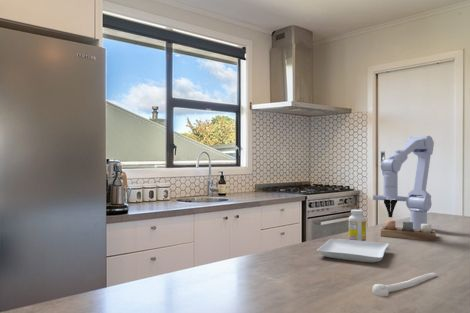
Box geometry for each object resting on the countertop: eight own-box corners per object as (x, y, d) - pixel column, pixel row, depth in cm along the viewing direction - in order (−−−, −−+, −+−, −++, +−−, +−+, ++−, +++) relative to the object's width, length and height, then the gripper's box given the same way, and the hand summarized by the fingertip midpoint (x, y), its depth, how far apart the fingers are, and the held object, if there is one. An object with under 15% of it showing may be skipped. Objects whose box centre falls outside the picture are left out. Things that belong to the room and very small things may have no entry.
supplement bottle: (363, 240, 155) (363, 209, 155) (367, 244, 149) (367, 211, 149) (347, 240, 156) (347, 208, 156) (350, 243, 149) (350, 211, 149)
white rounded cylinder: (420, 231, 163) (420, 223, 163) (431, 232, 162) (431, 224, 162) (420, 233, 160) (420, 224, 160) (431, 234, 158) (431, 225, 158)
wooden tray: (383, 231, 173) (383, 226, 173) (434, 235, 164) (434, 230, 164) (380, 236, 163) (380, 230, 163) (435, 241, 154) (435, 234, 154)
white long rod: (425, 274, 112) (425, 264, 112) (439, 277, 109) (439, 267, 109) (368, 294, 96) (368, 282, 96) (383, 299, 93) (383, 287, 93)
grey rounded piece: (403, 229, 166) (403, 221, 166) (413, 229, 165) (413, 221, 165) (402, 230, 163) (402, 222, 163) (412, 231, 161) (412, 223, 161)
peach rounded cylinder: (386, 227, 170) (386, 219, 170) (395, 228, 168) (395, 220, 168) (385, 229, 166) (385, 221, 166) (395, 230, 164) (395, 222, 164)
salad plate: (315, 259, 128) (315, 249, 128) (330, 246, 147) (330, 237, 147) (382, 267, 118) (382, 257, 118) (389, 252, 137) (389, 243, 137)
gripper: (372, 186, 166) (372, 217, 166) (408, 187, 160) (408, 219, 160) (373, 185, 173) (373, 214, 173) (408, 186, 166) (408, 217, 166)
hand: (390, 217), depth 167 cm, fingers closed
